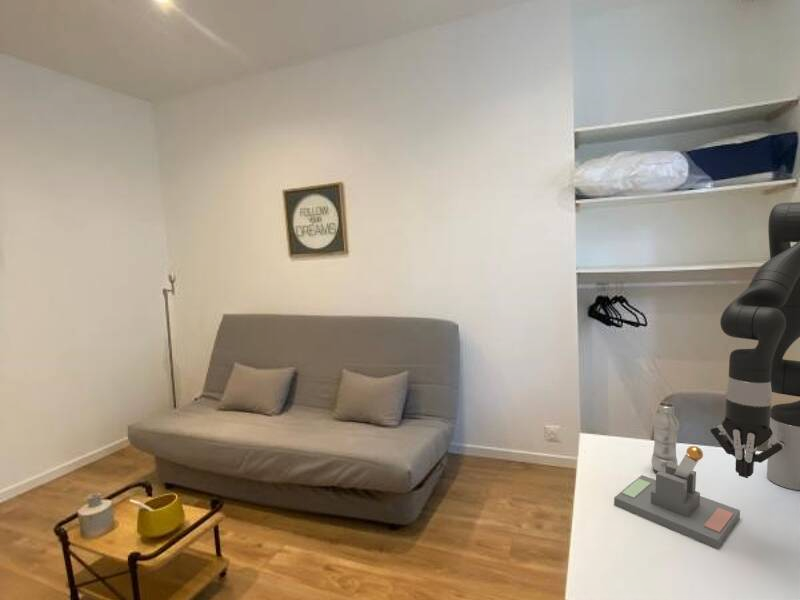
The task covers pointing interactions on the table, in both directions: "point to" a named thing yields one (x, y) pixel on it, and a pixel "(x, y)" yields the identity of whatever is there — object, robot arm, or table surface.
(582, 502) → the table surface
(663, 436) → the plastic bottle
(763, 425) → the robot arm
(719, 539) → the switch box
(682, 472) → the lever
